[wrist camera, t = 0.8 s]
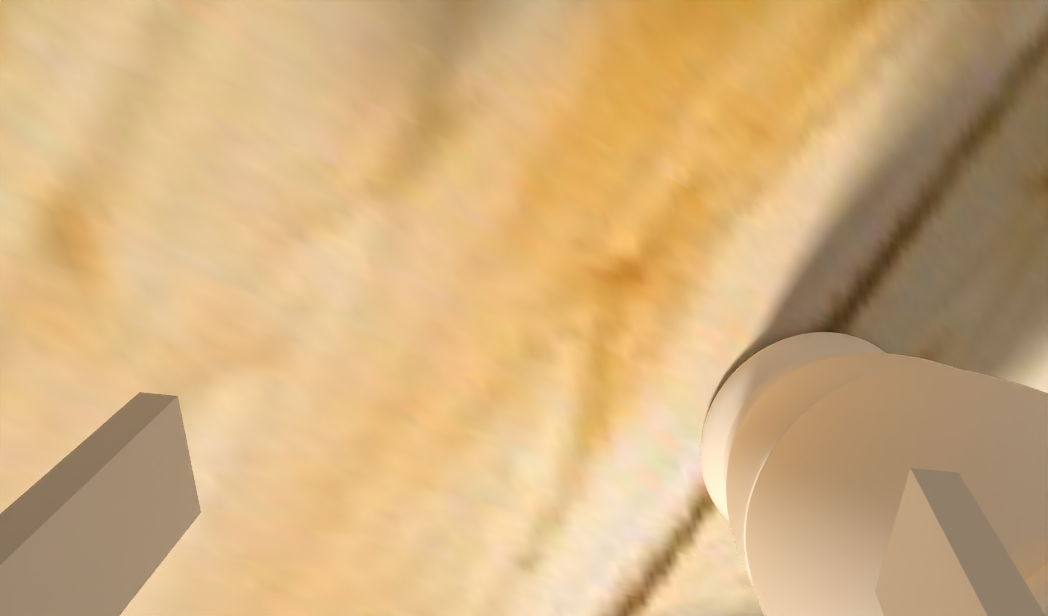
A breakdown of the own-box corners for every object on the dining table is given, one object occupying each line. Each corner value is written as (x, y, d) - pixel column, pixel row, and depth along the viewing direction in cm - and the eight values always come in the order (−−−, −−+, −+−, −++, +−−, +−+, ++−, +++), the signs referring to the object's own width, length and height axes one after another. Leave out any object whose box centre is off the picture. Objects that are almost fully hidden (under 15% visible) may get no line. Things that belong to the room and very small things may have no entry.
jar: (982, 455, 29) (1519, 791, 15) (764, 612, 30) (1081, 1080, 16) (852, 241, 26) (1366, 404, 12) (612, 419, 27) (831, 778, 13)
